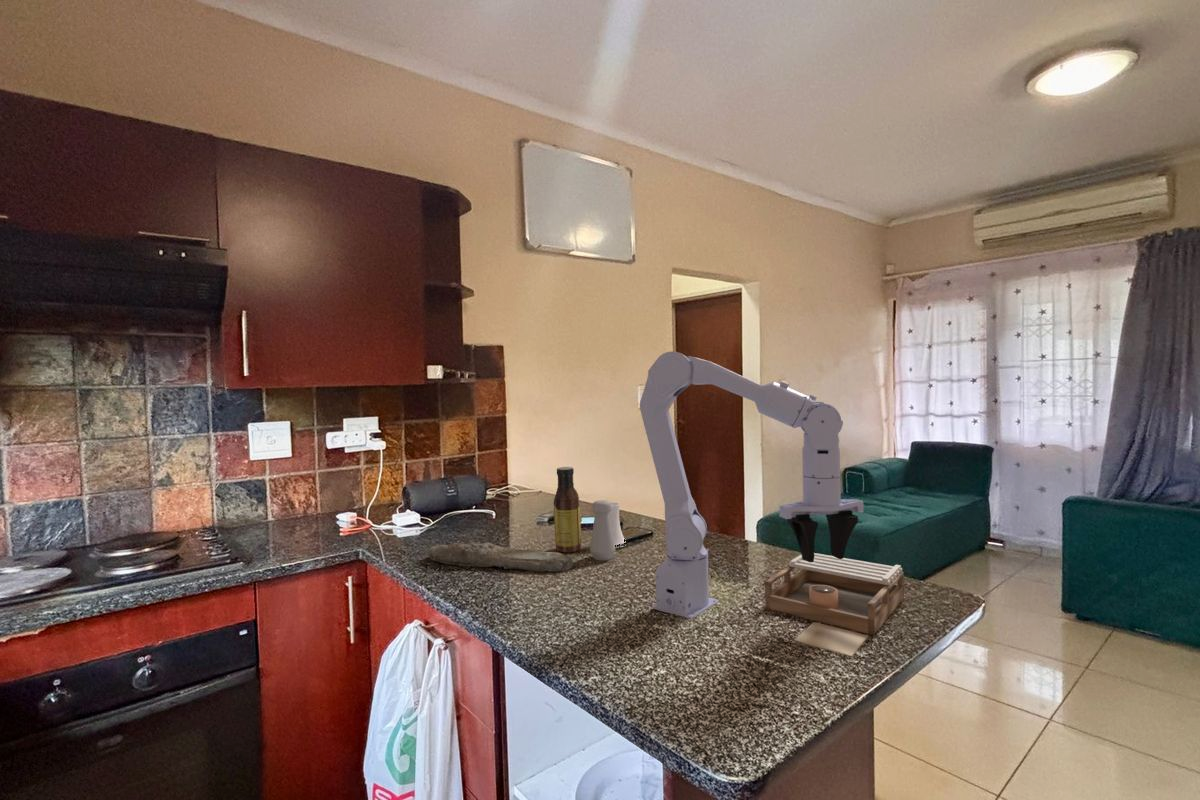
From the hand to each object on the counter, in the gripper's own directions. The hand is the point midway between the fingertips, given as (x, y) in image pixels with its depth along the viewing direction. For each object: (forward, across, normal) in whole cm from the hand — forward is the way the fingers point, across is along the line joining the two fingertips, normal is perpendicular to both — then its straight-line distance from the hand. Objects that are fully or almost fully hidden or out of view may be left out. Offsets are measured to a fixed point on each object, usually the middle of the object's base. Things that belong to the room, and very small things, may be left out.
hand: (822, 558), depth 90 cm
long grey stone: (+10, +50, -46) cm, 69 cm away
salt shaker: (+10, +26, -43) cm, 51 cm away
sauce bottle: (+10, +33, -52) cm, 62 cm away
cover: (+4, -9, -6) cm, 12 cm away
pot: (+9, 0, 0) cm, 9 cm away
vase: (+10, +22, -53) cm, 58 cm away
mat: (+9, +5, +8) cm, 13 cm away
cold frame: (+9, -5, -3) cm, 11 cm away
